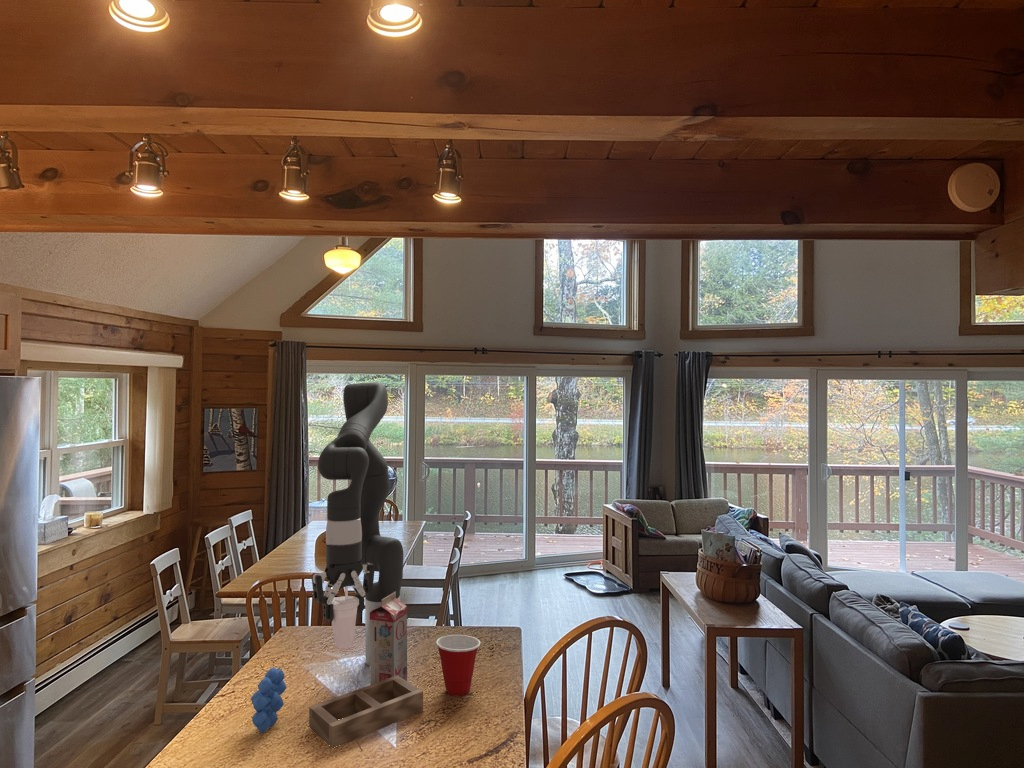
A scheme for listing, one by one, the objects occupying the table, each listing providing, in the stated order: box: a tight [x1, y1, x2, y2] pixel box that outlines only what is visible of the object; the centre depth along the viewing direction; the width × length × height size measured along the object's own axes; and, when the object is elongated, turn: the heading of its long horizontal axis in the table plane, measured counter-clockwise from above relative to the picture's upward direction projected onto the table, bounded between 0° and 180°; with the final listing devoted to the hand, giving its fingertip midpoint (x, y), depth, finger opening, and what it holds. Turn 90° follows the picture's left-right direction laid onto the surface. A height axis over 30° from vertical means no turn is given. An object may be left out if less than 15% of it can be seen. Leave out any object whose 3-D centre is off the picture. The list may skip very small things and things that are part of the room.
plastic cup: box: [435, 634, 482, 697], centre depth 151 cm, size 11×11×12 cm
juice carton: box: [369, 592, 408, 685], centre depth 154 cm, size 7×7×22 cm
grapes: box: [250, 667, 287, 734], centre depth 135 cm, size 12×7×12 cm, turn 173°
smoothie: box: [331, 586, 359, 650], centre depth 135 cm, size 6×6×14 cm
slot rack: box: [308, 675, 424, 749], centre depth 138 cm, size 22×11×4 cm, turn 132°
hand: (344, 616), depth 135 cm, fingers closed on smoothie, 6 cm apart
